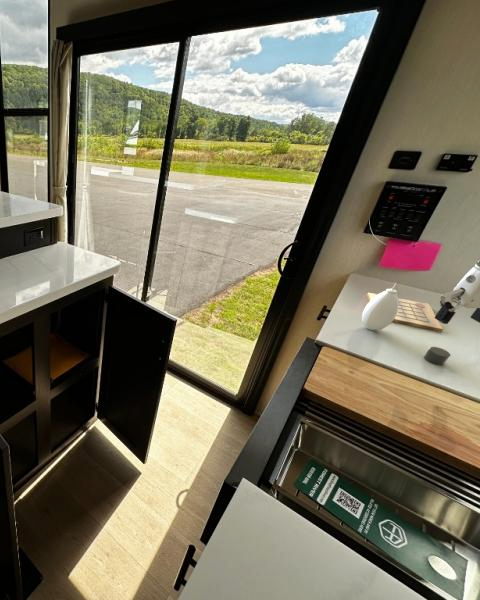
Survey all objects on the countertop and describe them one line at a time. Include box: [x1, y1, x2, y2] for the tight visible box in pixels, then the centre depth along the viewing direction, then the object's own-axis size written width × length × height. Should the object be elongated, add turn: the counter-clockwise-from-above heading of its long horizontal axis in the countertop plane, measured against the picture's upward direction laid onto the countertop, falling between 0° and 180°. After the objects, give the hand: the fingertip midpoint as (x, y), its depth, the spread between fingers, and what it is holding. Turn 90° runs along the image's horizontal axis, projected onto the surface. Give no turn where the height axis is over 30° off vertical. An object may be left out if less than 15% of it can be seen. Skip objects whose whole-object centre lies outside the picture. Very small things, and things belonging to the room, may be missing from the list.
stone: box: [423, 346, 451, 366], centre depth 94 cm, size 4×4×3 cm
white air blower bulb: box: [361, 282, 399, 331], centre depth 104 cm, size 8×8×18 cm
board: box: [366, 292, 444, 333], centre depth 116 cm, size 18×18×1 cm
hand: (458, 320), depth 87 cm, fingers open, 9 cm apart
